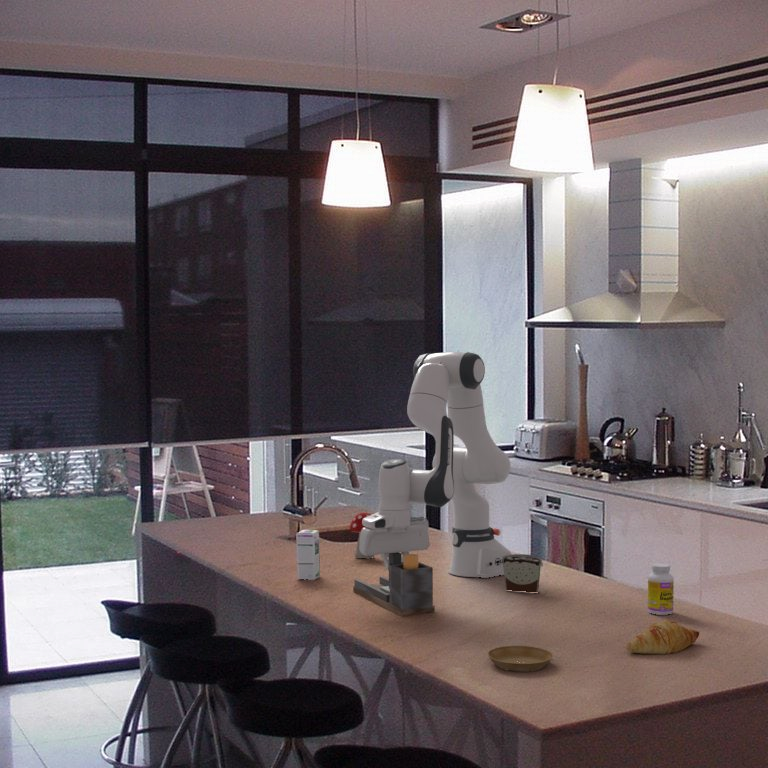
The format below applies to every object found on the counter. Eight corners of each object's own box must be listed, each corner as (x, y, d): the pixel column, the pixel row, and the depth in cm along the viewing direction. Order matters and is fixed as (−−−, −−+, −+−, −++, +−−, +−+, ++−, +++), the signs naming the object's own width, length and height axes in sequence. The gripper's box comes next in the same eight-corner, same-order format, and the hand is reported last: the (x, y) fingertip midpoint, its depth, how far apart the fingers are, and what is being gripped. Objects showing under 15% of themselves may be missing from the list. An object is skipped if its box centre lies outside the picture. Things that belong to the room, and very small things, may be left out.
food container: (548, 589, 337) (548, 555, 337) (542, 594, 332) (542, 559, 331) (508, 586, 343) (507, 552, 342) (501, 590, 337) (500, 556, 336)
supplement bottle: (659, 617, 305) (659, 568, 304) (642, 611, 311) (642, 563, 310) (678, 614, 308) (679, 565, 307) (661, 608, 314) (662, 561, 313)
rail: (384, 588, 342) (384, 547, 341) (434, 611, 313) (434, 567, 312) (353, 591, 337) (352, 550, 337) (400, 615, 308) (400, 571, 308)
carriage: (398, 592, 328) (397, 549, 327) (410, 598, 321) (410, 554, 320) (380, 594, 326) (379, 551, 325) (392, 600, 318) (391, 556, 318)
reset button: (414, 575, 316) (414, 553, 316) (421, 578, 313) (420, 556, 312) (401, 576, 315) (400, 554, 314) (407, 579, 311) (407, 557, 311)
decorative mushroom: (381, 555, 390) (381, 511, 390) (377, 560, 382) (376, 515, 381) (352, 554, 392) (352, 510, 391) (347, 559, 384) (346, 514, 383)
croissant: (635, 672, 268) (645, 646, 264) (610, 643, 276) (620, 617, 272) (705, 657, 278) (716, 632, 274) (679, 630, 286) (689, 604, 282)
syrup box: (315, 580, 353) (314, 532, 352) (296, 579, 354) (296, 532, 353) (320, 576, 358) (319, 529, 358) (301, 575, 360) (301, 529, 359)
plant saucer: (547, 655, 271) (547, 644, 271) (558, 674, 256) (558, 662, 256) (483, 657, 270) (483, 645, 270) (491, 675, 256) (491, 663, 256)
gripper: (423, 514, 329) (423, 562, 330) (356, 519, 321) (357, 569, 321) (433, 517, 324) (433, 566, 324) (365, 523, 315) (366, 574, 316)
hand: (395, 568), depth 323 cm, fingers closed on carriage, 2 cm apart
